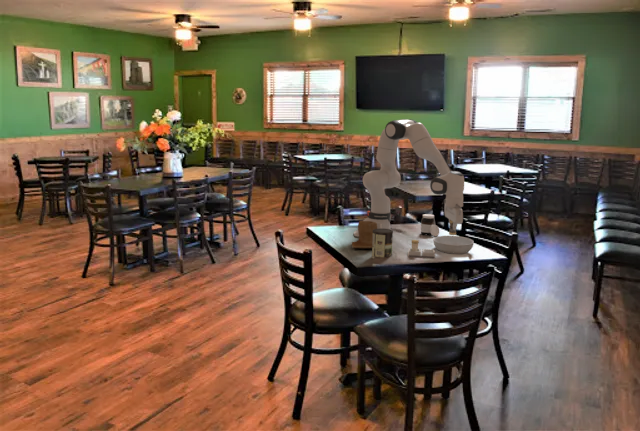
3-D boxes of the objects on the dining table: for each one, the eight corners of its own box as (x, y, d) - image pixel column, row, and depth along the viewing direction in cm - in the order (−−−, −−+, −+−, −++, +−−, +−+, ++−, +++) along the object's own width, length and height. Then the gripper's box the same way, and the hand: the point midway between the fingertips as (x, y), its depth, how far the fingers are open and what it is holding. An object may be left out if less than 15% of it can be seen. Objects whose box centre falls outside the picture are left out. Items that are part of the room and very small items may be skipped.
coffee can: (389, 254, 292) (390, 228, 289) (393, 260, 282) (394, 232, 279) (370, 254, 291) (371, 228, 289) (373, 260, 281) (374, 232, 278)
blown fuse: (450, 235, 294) (451, 221, 293) (448, 233, 298) (449, 219, 296) (456, 235, 295) (457, 221, 293) (454, 233, 298) (455, 219, 297)
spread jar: (423, 231, 347) (424, 213, 345) (441, 233, 342) (442, 215, 340) (418, 235, 336) (419, 216, 334) (436, 237, 332) (438, 218, 329)
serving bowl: (428, 247, 309) (428, 235, 307) (465, 247, 310) (466, 235, 309) (438, 257, 288) (439, 244, 287) (478, 258, 290) (479, 245, 288)
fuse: (410, 255, 286) (411, 241, 284) (410, 253, 289) (411, 239, 288) (418, 255, 285) (418, 241, 284) (417, 254, 289) (418, 239, 287)
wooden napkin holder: (375, 244, 312) (376, 218, 309) (380, 250, 301) (381, 222, 298) (348, 245, 310) (349, 218, 308) (352, 250, 299) (353, 223, 296)
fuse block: (407, 259, 283) (407, 252, 282) (407, 254, 293) (407, 247, 292) (435, 261, 281) (436, 253, 280) (434, 256, 291) (435, 248, 290)
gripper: (466, 206, 283) (465, 233, 286) (454, 199, 303) (452, 224, 306) (454, 206, 283) (452, 233, 285) (442, 199, 303) (441, 224, 305)
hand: (452, 228), depth 296 cm, fingers closed on blown fuse, 3 cm apart
